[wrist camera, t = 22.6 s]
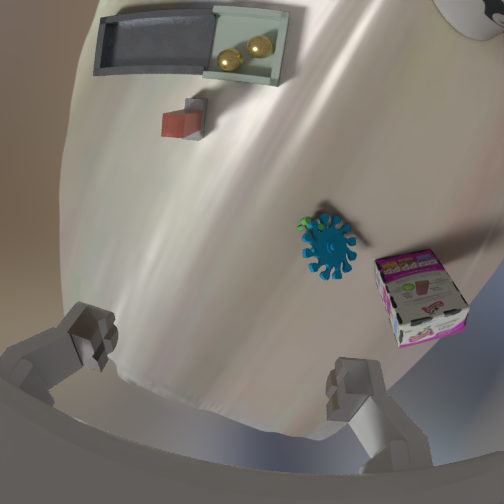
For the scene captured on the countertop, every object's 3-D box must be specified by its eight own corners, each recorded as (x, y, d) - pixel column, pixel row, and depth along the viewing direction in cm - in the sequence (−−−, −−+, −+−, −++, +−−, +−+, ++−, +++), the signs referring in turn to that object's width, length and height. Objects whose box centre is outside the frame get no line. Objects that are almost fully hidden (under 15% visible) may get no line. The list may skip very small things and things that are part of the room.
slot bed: (110, 20, 33) (100, 17, 30) (218, 13, 32) (213, 8, 30) (103, 75, 38) (93, 76, 36) (208, 75, 38) (202, 74, 35)
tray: (218, 10, 32) (213, 5, 30) (289, 17, 32) (289, 12, 29) (208, 78, 38) (202, 77, 35) (277, 86, 38) (277, 86, 35)
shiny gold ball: (258, 35, 34) (242, 33, 31) (280, 37, 32) (264, 34, 30) (255, 58, 36) (239, 57, 34) (276, 61, 34) (261, 59, 32)
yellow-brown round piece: (221, 41, 32) (207, 62, 33) (243, 50, 32) (229, 72, 33) (230, 49, 35) (217, 69, 37) (251, 58, 35) (237, 78, 36)
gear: (368, 249, 46) (334, 294, 43) (346, 253, 52) (312, 293, 48) (329, 194, 44) (288, 236, 41) (308, 203, 50) (269, 242, 46)
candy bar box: (375, 282, 51) (397, 350, 37) (373, 259, 49) (398, 325, 35) (430, 271, 49) (465, 332, 35) (431, 247, 46) (471, 307, 32)
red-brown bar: (190, 97, 40) (163, 100, 31) (208, 99, 39) (186, 101, 31) (186, 136, 43) (160, 149, 34) (204, 138, 42) (182, 151, 34)
